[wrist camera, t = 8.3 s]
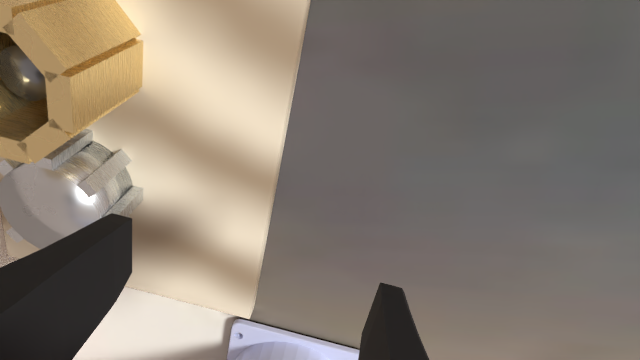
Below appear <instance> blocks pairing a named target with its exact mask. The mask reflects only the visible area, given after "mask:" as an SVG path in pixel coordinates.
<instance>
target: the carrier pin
mask: <svg viewBox="0 0 640 360" xmlns="http://www.w3.org/2000/svg"><path fill="white" fill-rule="evenodd" d="M0 76H1V79H2V80H3V82H4V83H5V85H6V86H7V87H8V88H9V89H10V90H11V91H12V92H13V93H14V94H16V95H17V96H19V97H21V98H23V99H25V100H29V101H38V100H42V99H44V98H46V97H47V95H46V83H45V76H44V75H43V74H42V73H41V72H40V71H39V69H38V68H37V67H36V66H35V65H34V64H33V63H32V61H31V60H30V59H29V58H28V57H27V56H26V54H25V53H24V52H23V51H22V50H21V49H20V47H19V46H18V45H17V44H15V45H12V46H10V47H7V48H5V49H4V50H3V51H2V52H1V53H0Z"/></svg>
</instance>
